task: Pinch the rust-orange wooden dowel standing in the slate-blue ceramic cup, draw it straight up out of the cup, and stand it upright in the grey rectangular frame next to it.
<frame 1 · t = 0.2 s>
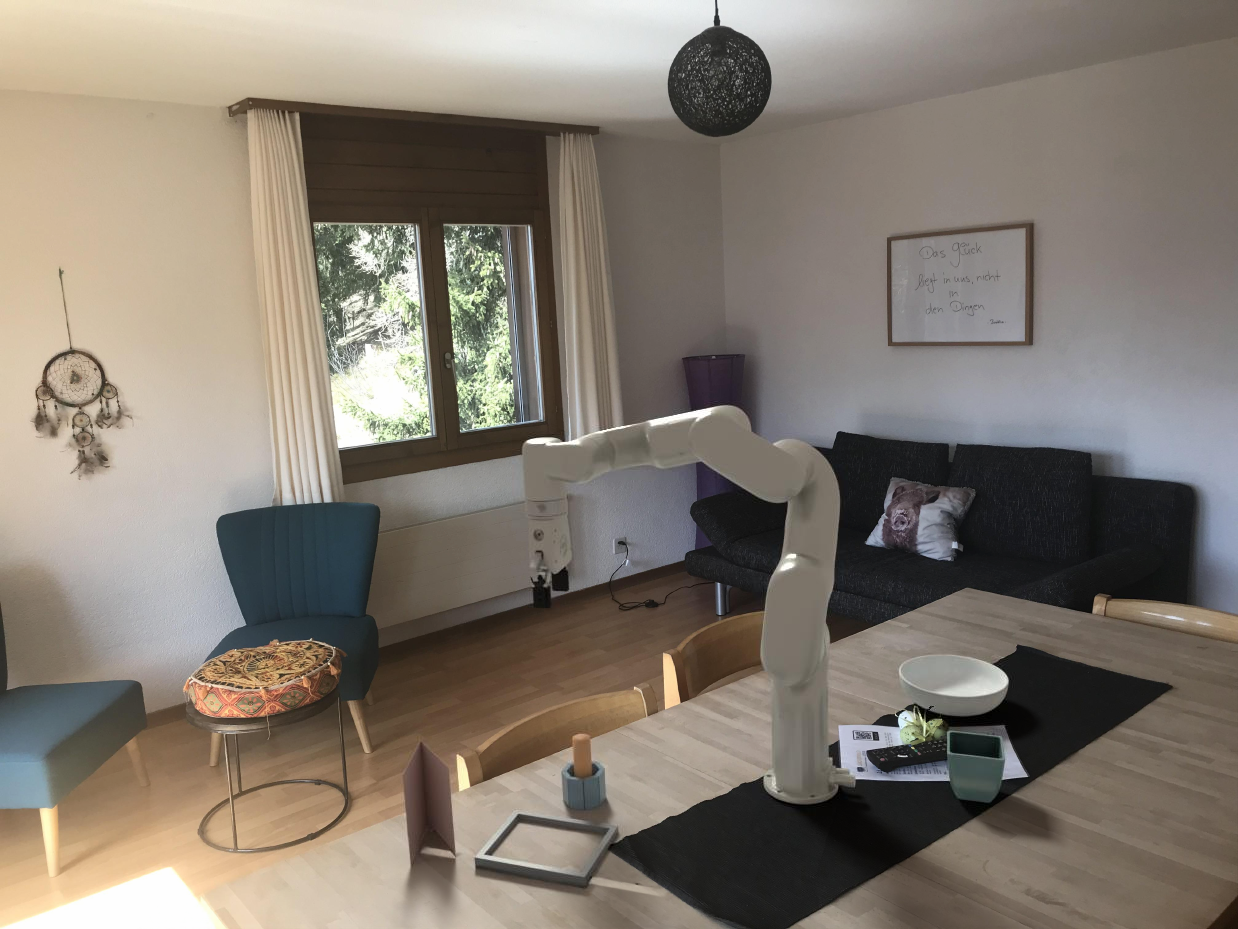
hand: (551, 599, 172), 31 cm above the table, tool pointing down, fingers open, 9 cm apart
dowel: (584, 798, 160), point 1 cm above the table, touching cup
serving bowl: (952, 706, 191), on the table
grey rectangular frame: (548, 852, 147), on the table
flower pot: (974, 795, 158), on the table
greeting card: (437, 845, 150), on the table
cup: (584, 802, 160), on the table
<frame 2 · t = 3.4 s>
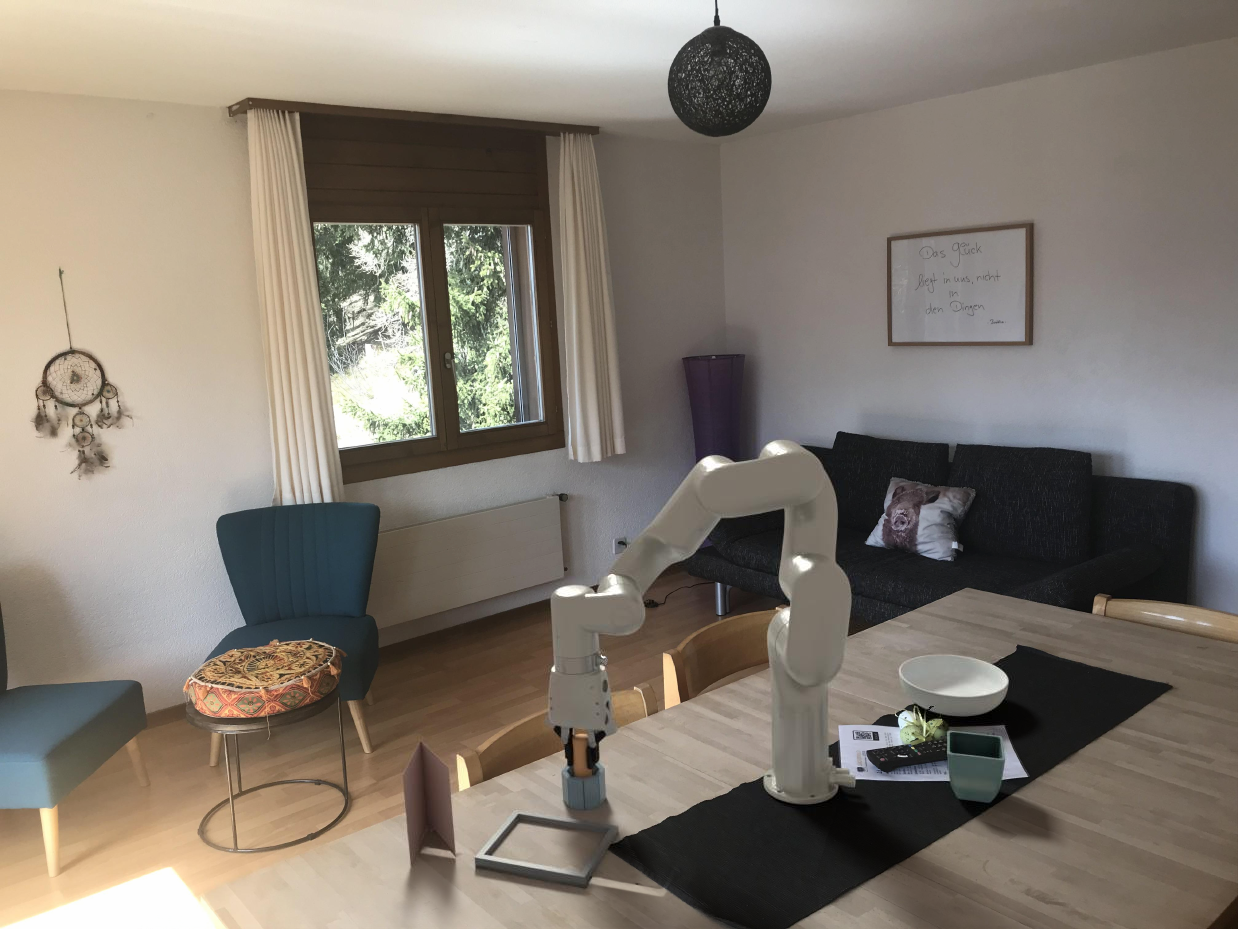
hand: (582, 763, 159), 7 cm above the table, tool pointing down, fingers closed on dowel, 3 cm apart
dowel: (584, 798, 160), point 1 cm above the table, touching cup, gripper
everything else where it was.
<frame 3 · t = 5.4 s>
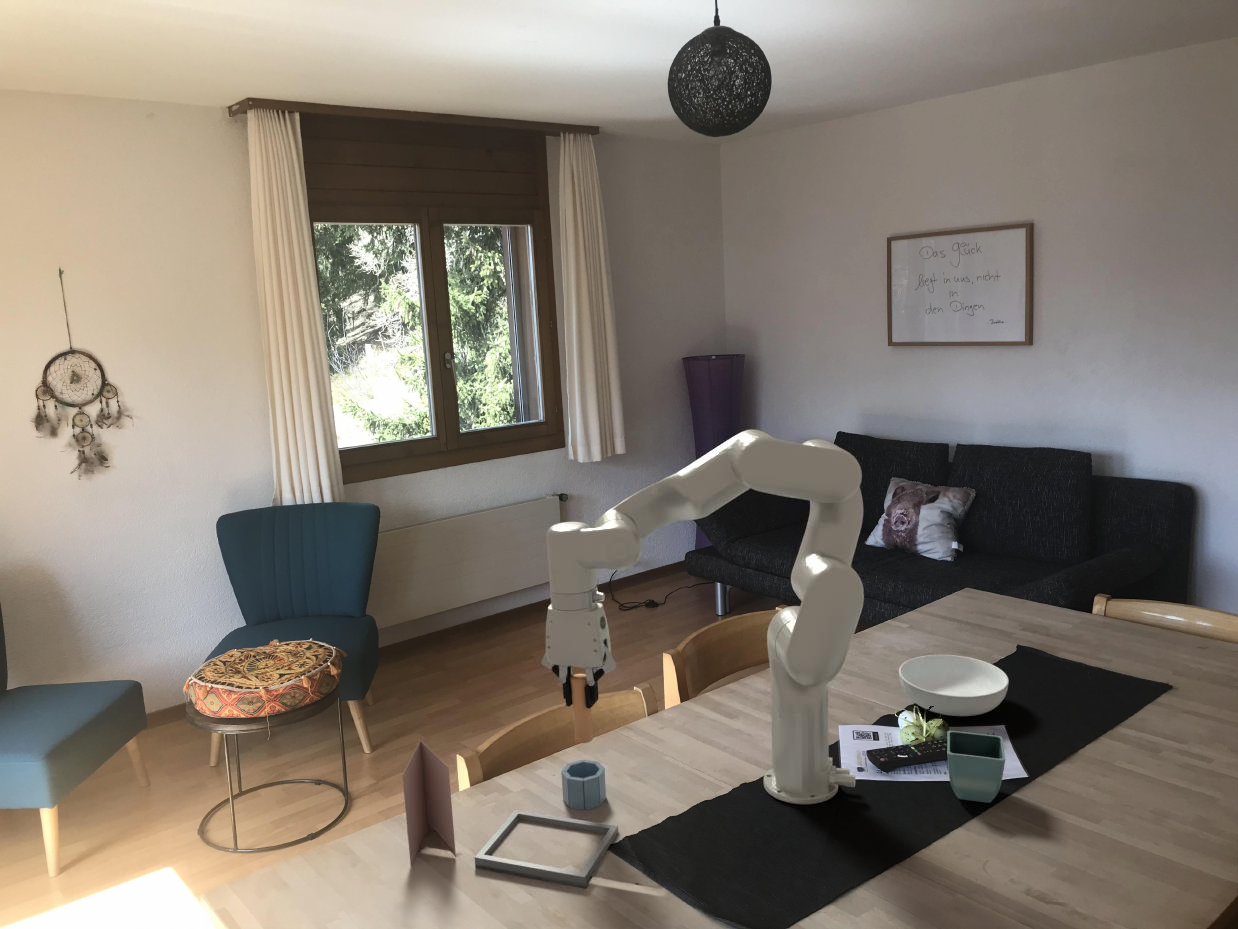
hand: (581, 703, 157), 18 cm above the table, tool pointing down, fingers closed on dowel, 3 cm apart
dowel: (583, 739, 158), point 12 cm above the table, touching gripper
everything else where it was.
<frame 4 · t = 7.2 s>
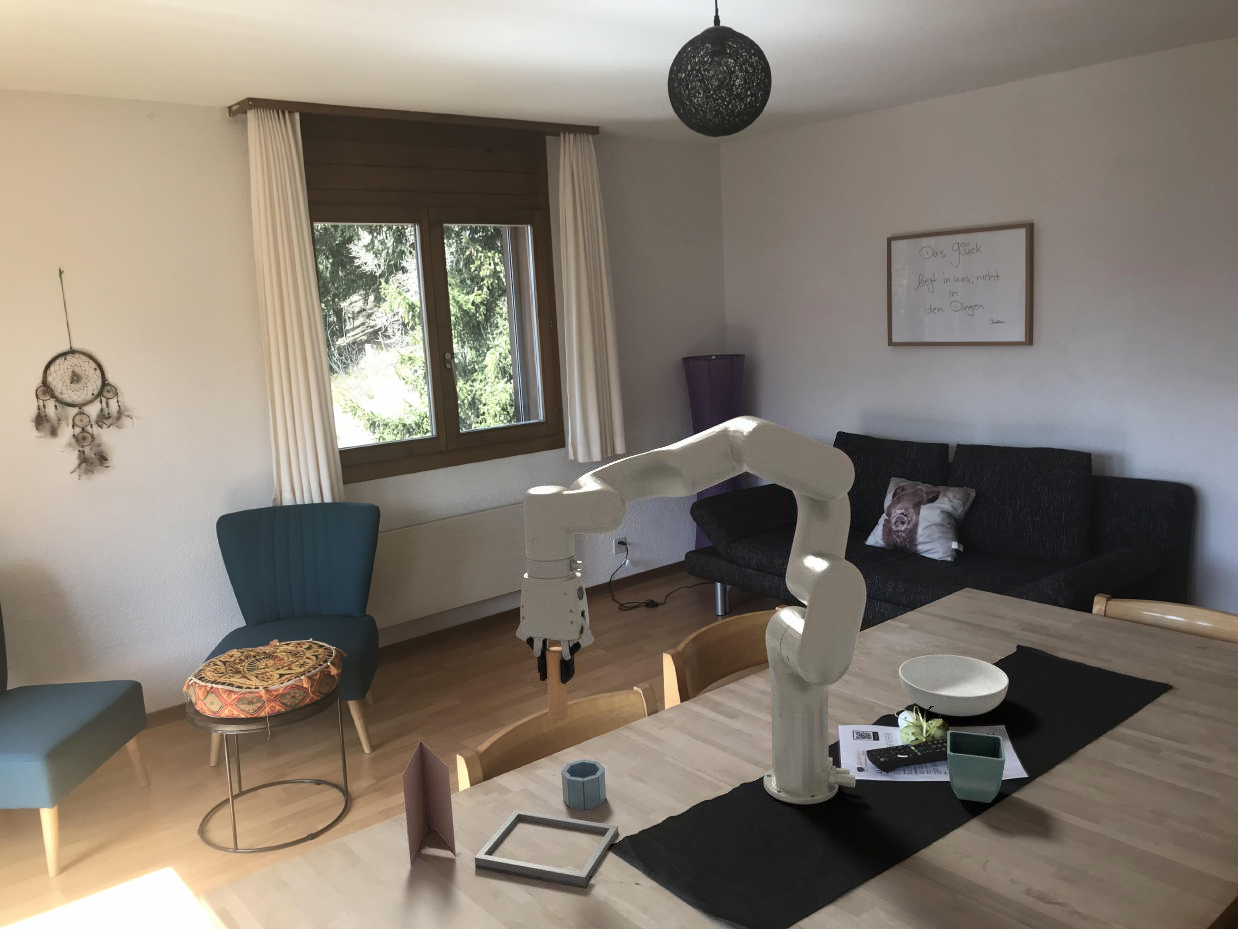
hand: (556, 678, 149), 26 cm above the table, tool pointing down, fingers closed on dowel, 3 cm apart
dowel: (558, 716, 150), point 19 cm above the table, touching gripper
everything else where it was.
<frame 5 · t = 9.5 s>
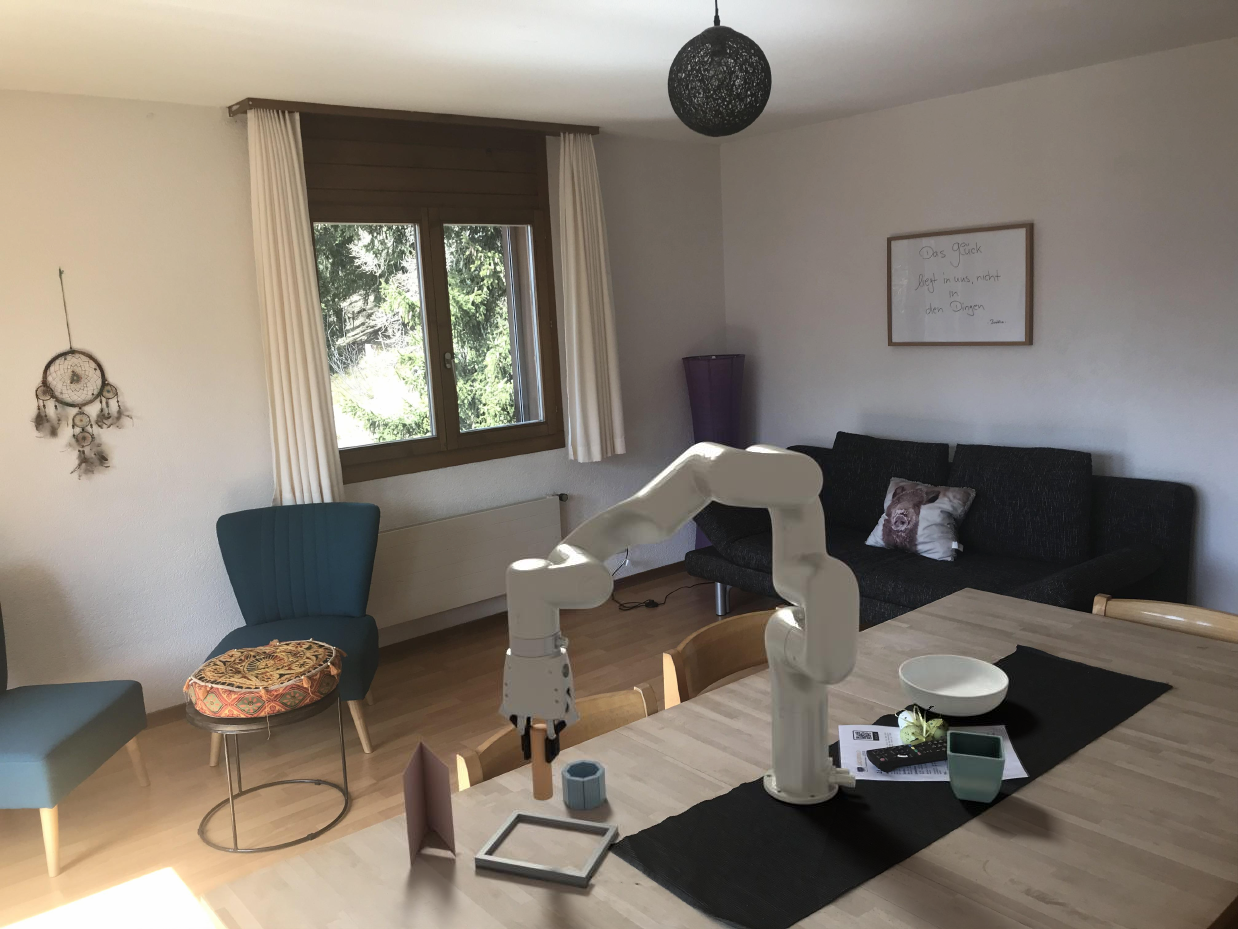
hand: (541, 756, 144), 16 cm above the table, tool pointing down, fingers closed on dowel, 3 cm apart
dowel: (543, 795, 145), point 10 cm above the table, touching gripper
everything else where it was.
when the fingers open (8 cm above the table, at t = 11.2 s): dowel stays where it is, resting on grey rectangular frame.
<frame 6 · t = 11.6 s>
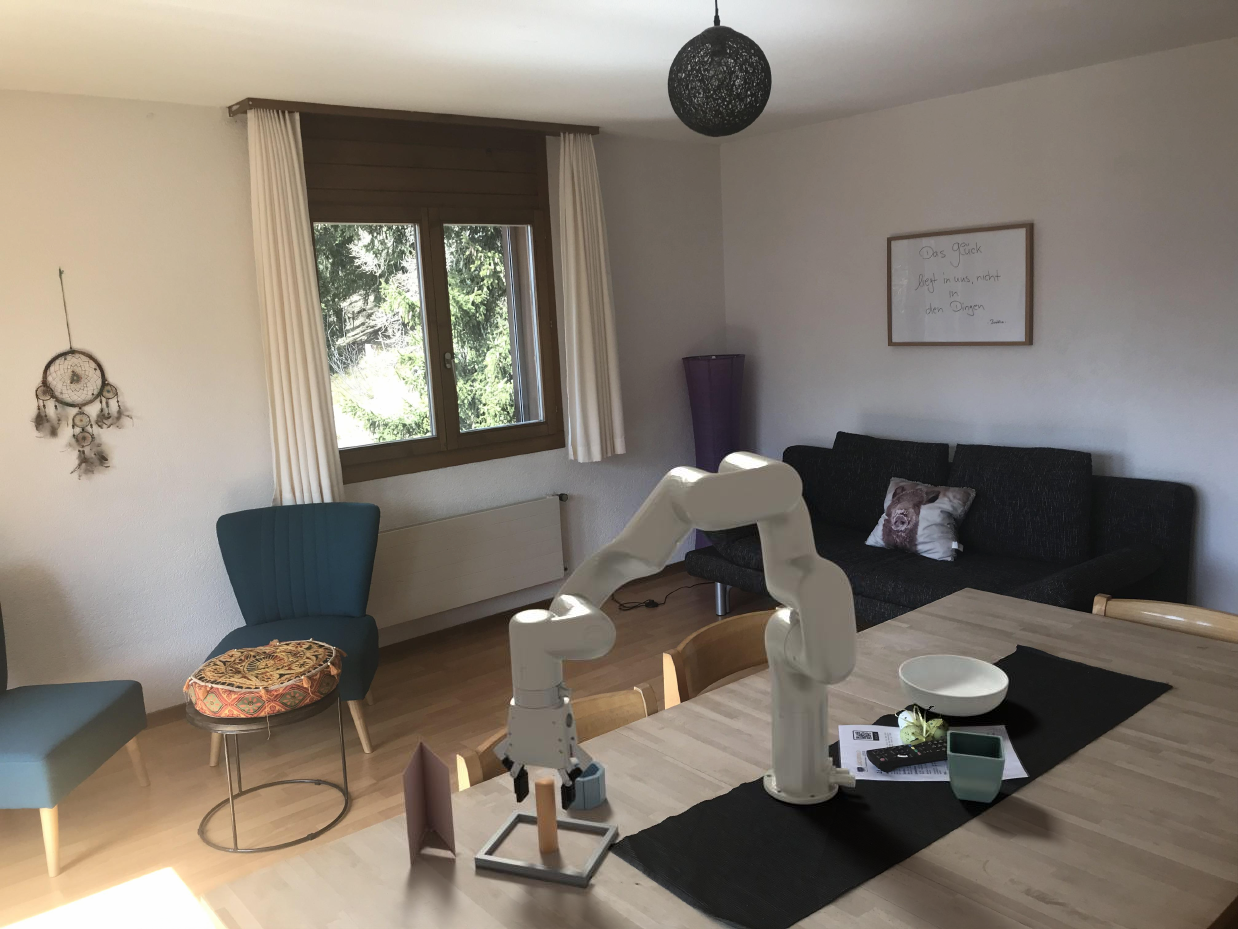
hand: (545, 801, 145), 9 cm above the table, tool pointing down, fingers open, 7 cm apart
dowel: (548, 848, 146), point 1 cm above the table, touching grey rectangular frame
everything else where it was.
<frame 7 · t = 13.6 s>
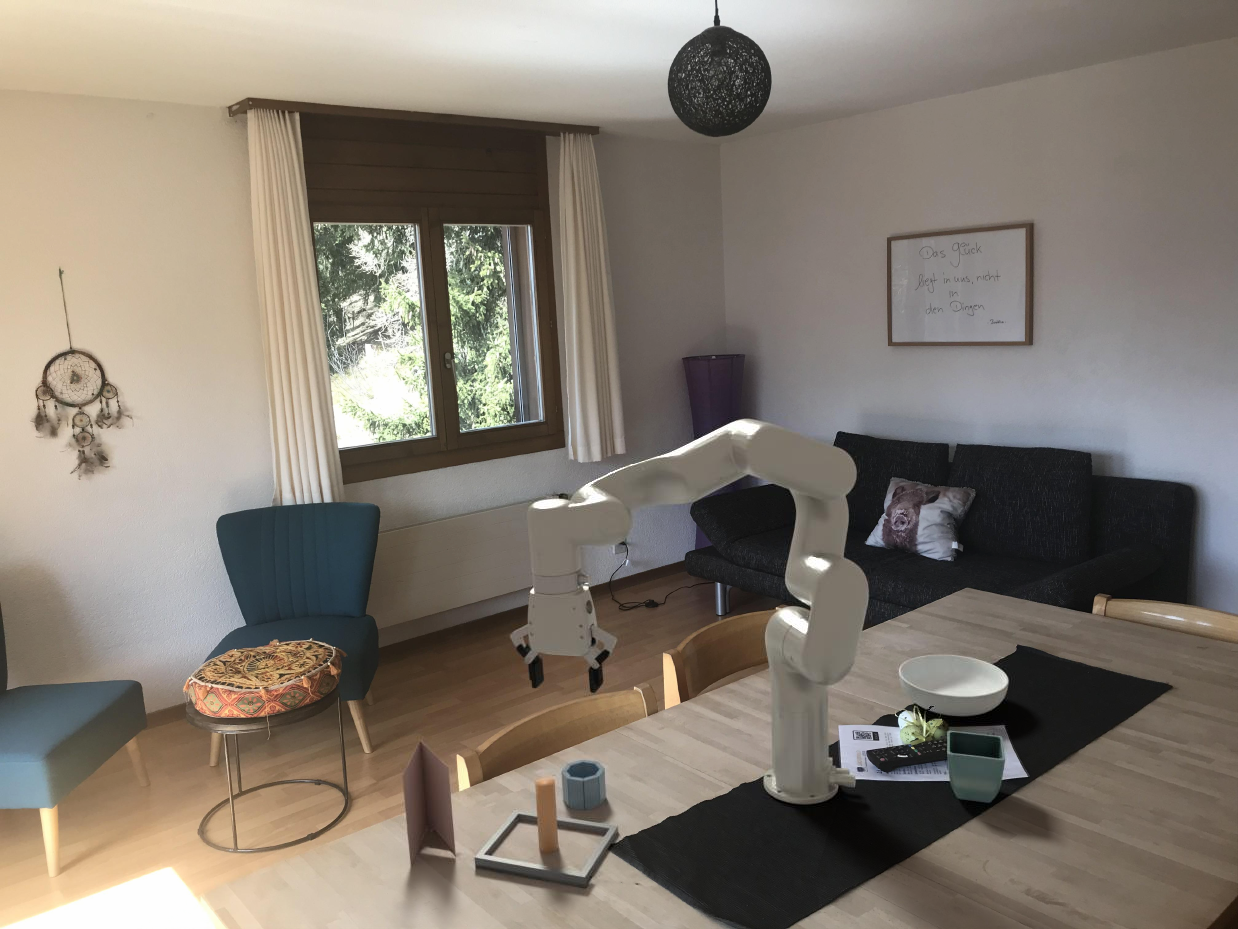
hand: (566, 687, 146), 25 cm above the table, tool pointing down, fingers open, 9 cm apart
nothing on the table moved.
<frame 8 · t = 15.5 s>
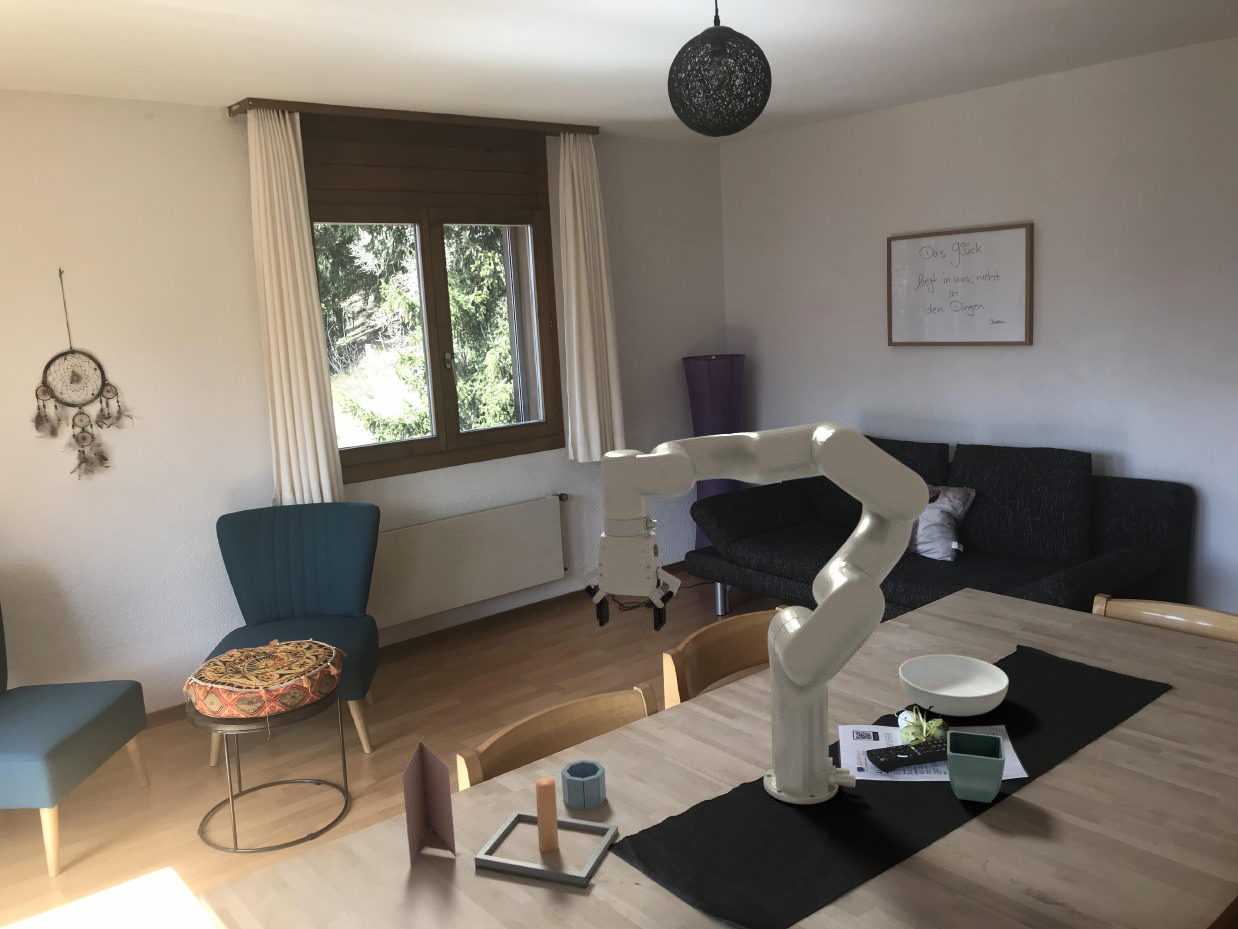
hand: (631, 626, 157), 30 cm above the table, tool pointing down, fingers open, 9 cm apart
nothing on the table moved.
at the end: dowel inside the target area on the grey rectangular frame (0.1 cm from its centre), point 0.6 cm above the grey rectangular frame's base; dowel tilted 0°; the gripper is holding nothing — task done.
